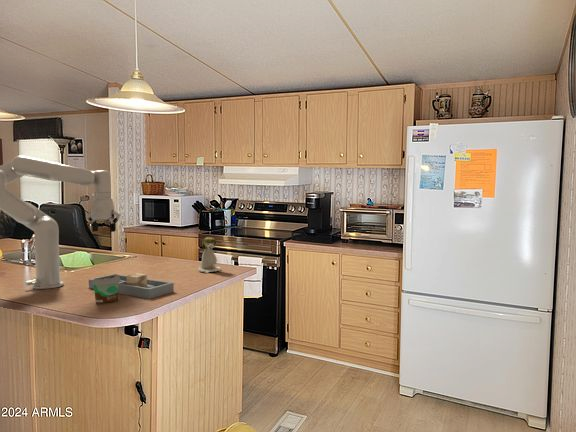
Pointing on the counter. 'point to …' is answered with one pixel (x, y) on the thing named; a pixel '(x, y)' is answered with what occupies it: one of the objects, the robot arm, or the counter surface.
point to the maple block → (137, 280)
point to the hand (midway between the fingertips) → (104, 231)
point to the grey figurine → (209, 256)
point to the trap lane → (149, 291)
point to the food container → (106, 289)
